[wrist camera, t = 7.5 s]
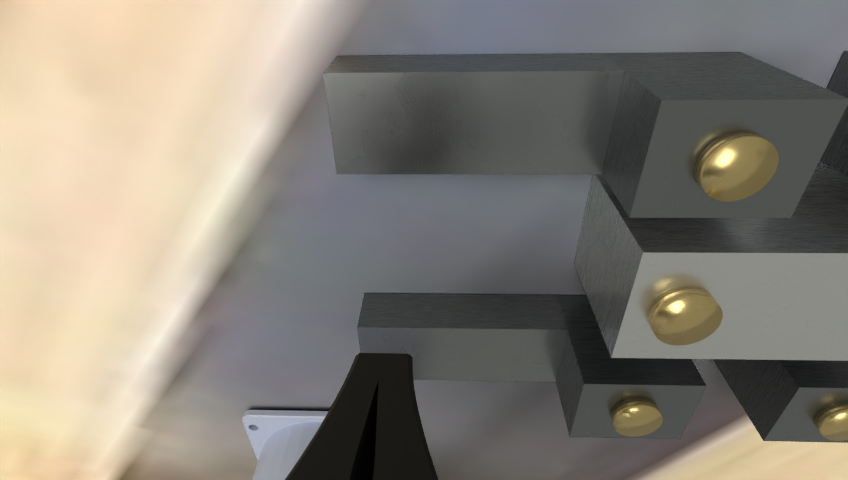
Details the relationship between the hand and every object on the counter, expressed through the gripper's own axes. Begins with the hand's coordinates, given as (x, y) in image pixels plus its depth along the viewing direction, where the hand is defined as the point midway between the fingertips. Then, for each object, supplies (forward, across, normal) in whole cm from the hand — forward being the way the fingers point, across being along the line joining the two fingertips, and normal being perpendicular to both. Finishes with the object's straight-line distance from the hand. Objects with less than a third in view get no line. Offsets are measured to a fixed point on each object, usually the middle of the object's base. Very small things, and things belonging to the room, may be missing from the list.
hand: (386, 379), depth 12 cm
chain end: (+7, -4, 0) cm, 8 cm away
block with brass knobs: (+7, -12, -1) cm, 14 cm away
